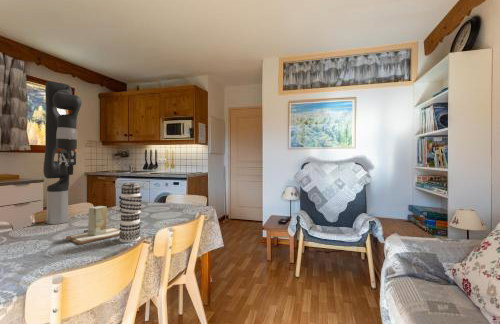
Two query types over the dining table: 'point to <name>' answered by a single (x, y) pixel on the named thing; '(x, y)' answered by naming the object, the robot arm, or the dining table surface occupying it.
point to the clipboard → (86, 238)
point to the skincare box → (97, 220)
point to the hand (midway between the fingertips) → (66, 174)
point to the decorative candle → (130, 212)
